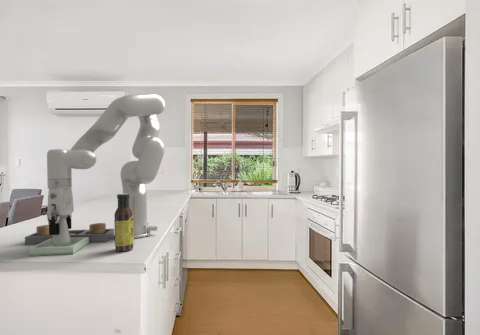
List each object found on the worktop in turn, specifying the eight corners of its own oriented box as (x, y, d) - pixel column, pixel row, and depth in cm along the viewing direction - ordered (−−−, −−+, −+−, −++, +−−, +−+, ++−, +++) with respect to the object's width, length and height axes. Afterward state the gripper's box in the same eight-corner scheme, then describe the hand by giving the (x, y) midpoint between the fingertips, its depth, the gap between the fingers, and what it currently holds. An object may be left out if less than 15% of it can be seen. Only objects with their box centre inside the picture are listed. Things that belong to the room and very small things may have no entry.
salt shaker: (62, 250, 107) (61, 213, 107) (48, 249, 108) (47, 212, 108) (74, 245, 113) (73, 210, 113) (61, 245, 114) (60, 210, 114)
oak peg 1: (57, 239, 126) (56, 224, 126) (49, 242, 120) (49, 227, 120) (41, 239, 126) (41, 225, 126) (33, 243, 120) (33, 228, 120)
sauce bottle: (136, 250, 108) (135, 193, 108) (117, 253, 105) (116, 195, 104) (130, 246, 114) (129, 192, 113) (113, 249, 110) (112, 193, 110)
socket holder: (114, 235, 131) (114, 227, 131) (106, 241, 121) (106, 233, 121) (39, 238, 128) (38, 230, 127) (24, 244, 118) (24, 236, 117)
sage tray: (88, 243, 118) (88, 237, 118) (73, 254, 104) (73, 246, 104) (50, 245, 117) (50, 238, 117) (29, 256, 103) (29, 248, 103)
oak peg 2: (107, 237, 129) (107, 222, 129) (103, 240, 123) (102, 225, 123) (92, 237, 128) (92, 223, 128) (87, 241, 122) (87, 226, 122)
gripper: (59, 185, 102) (60, 237, 102) (80, 182, 119) (81, 226, 120) (35, 185, 101) (36, 238, 101) (60, 182, 118) (60, 227, 119)
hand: (60, 231), depth 110 cm, fingers open, 9 cm apart
